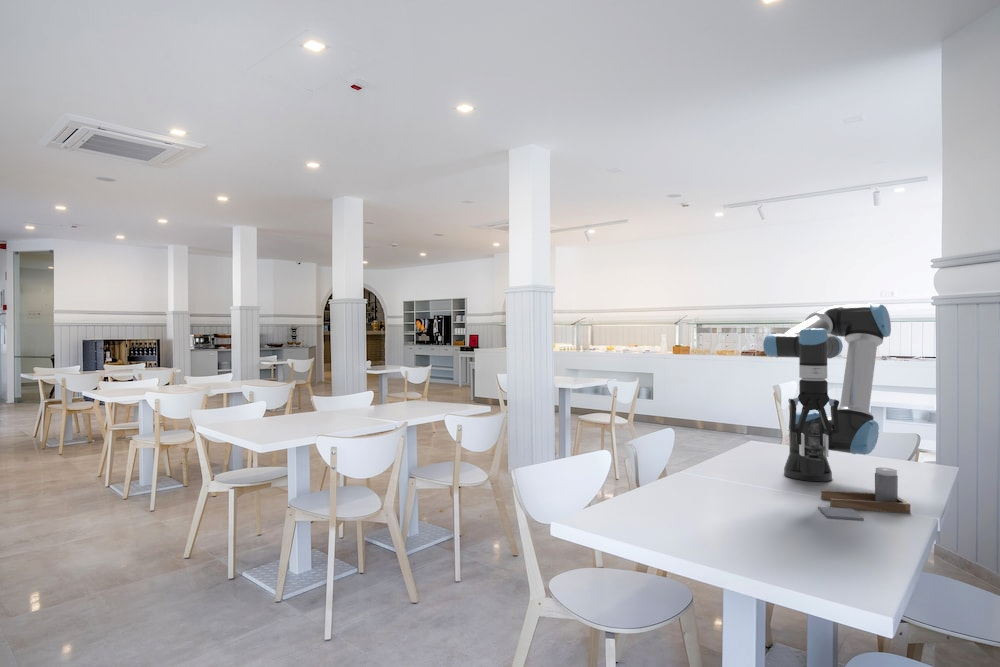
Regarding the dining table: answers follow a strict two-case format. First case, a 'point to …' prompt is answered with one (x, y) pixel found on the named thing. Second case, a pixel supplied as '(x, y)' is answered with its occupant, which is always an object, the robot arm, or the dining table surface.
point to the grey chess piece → (813, 443)
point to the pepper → (886, 485)
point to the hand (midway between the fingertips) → (813, 455)
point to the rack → (863, 502)
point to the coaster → (840, 513)
